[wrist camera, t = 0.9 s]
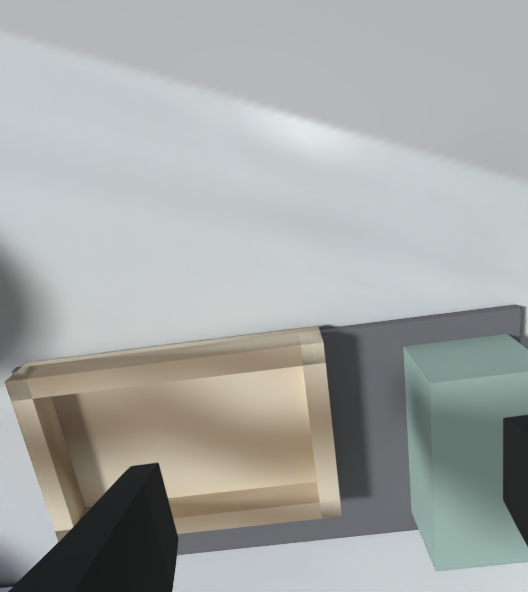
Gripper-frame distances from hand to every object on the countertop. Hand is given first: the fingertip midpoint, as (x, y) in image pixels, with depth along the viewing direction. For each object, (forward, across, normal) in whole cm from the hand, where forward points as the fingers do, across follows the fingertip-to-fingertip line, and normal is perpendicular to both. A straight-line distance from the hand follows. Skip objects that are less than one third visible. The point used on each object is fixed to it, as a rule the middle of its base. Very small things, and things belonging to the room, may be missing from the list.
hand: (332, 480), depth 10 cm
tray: (+8, +5, +4) cm, 11 cm away
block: (+8, -6, +5) cm, 12 cm away
